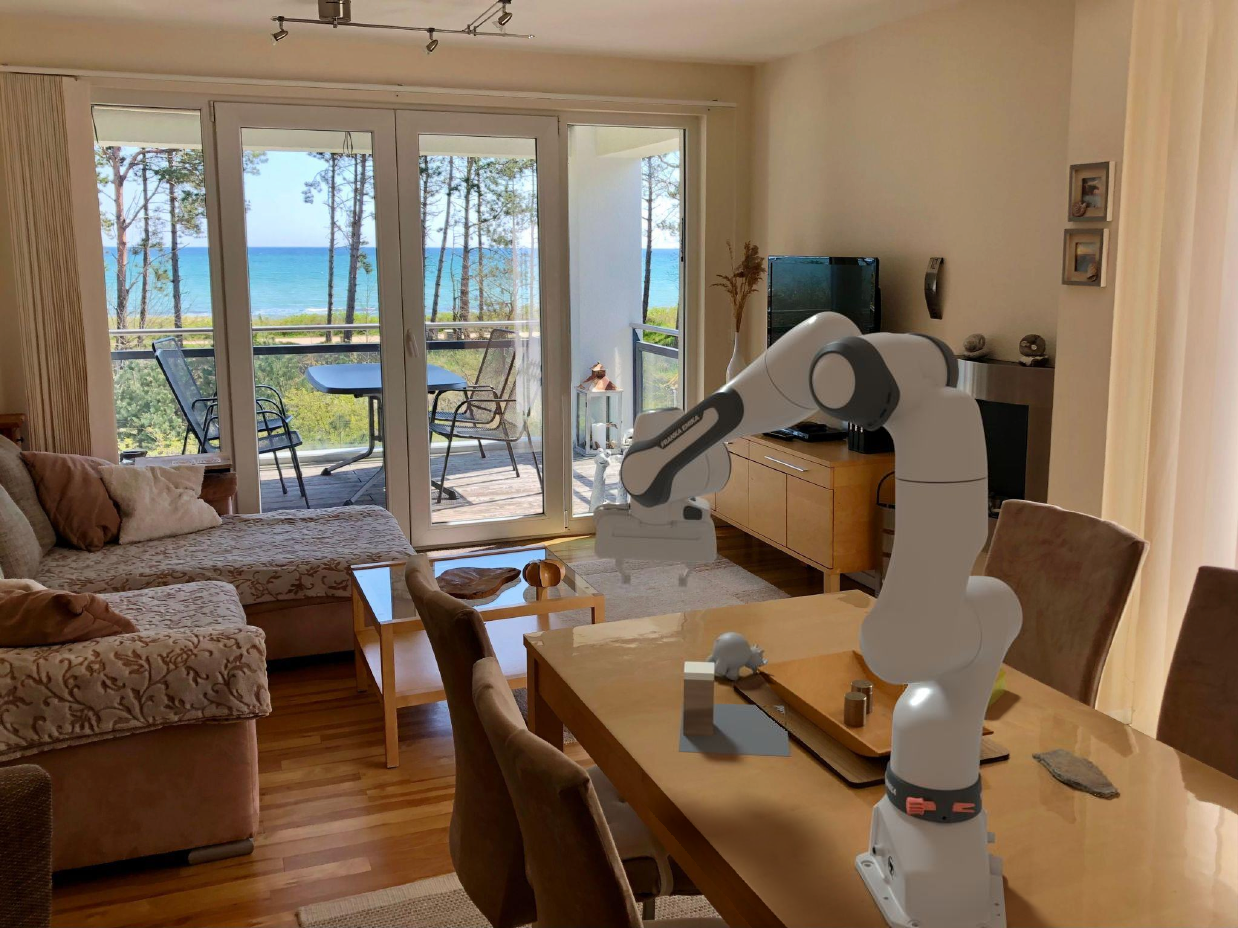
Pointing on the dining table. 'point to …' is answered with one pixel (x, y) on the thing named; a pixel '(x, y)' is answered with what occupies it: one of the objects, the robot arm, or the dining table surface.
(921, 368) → the robot arm
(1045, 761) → the grey flat rock
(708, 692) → the walnut block
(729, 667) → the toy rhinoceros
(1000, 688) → the element tile
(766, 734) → the rubber mat
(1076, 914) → the dining table surface
